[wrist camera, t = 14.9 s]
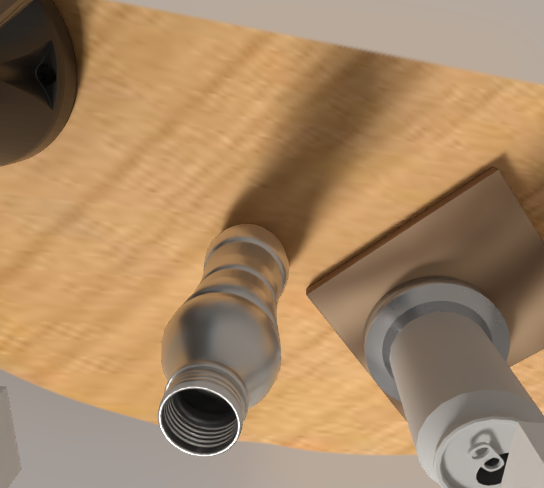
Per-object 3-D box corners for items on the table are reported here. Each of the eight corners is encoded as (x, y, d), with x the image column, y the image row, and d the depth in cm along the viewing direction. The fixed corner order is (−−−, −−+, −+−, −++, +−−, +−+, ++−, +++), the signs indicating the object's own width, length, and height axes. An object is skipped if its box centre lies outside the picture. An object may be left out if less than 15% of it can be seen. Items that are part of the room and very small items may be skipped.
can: (427, 406, 39) (477, 540, 27) (367, 345, 37) (394, 461, 26) (505, 352, 37) (595, 473, 25) (445, 287, 35) (511, 384, 24)
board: (306, 288, 39) (306, 294, 38) (492, 166, 35) (498, 169, 34) (404, 413, 43) (407, 422, 42) (585, 314, 39) (593, 322, 37)
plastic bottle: (271, 204, 37) (237, 331, 18) (302, 279, 39) (299, 463, 20) (197, 232, 39) (94, 378, 20) (231, 303, 40) (166, 499, 22)
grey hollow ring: (336, 323, 39) (338, 334, 37) (455, 249, 36) (463, 257, 35) (409, 415, 41) (413, 430, 40) (525, 352, 39) (536, 365, 37)
